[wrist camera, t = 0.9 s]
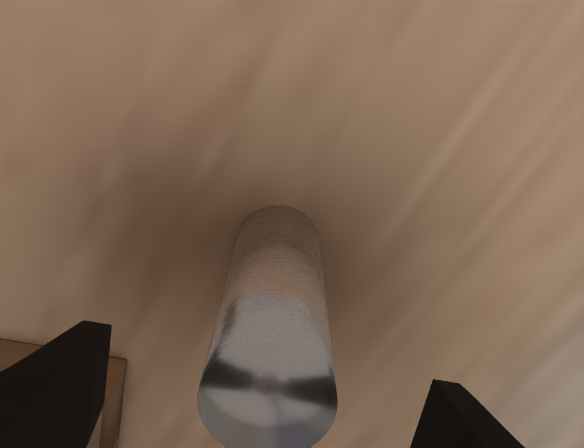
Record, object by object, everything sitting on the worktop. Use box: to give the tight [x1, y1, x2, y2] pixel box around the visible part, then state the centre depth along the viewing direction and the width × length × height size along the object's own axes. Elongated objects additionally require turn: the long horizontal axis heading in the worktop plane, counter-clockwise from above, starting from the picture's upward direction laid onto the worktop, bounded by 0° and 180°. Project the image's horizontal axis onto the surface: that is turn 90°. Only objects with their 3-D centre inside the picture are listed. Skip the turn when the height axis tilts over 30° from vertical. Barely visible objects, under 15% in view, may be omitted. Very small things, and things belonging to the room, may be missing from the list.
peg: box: [197, 206, 337, 448], centre depth 16 cm, size 3×3×9 cm
